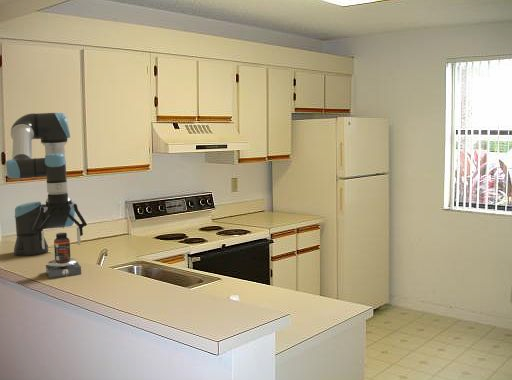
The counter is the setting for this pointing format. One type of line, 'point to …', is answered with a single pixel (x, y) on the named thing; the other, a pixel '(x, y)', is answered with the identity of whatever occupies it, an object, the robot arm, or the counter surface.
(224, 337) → the counter surface
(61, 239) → the supplement bottle
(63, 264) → the kitchen scale
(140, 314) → the counter surface
